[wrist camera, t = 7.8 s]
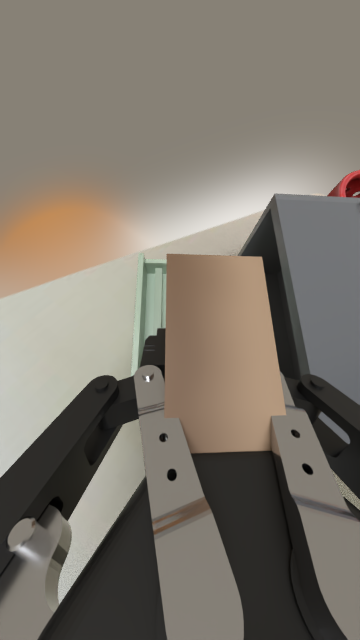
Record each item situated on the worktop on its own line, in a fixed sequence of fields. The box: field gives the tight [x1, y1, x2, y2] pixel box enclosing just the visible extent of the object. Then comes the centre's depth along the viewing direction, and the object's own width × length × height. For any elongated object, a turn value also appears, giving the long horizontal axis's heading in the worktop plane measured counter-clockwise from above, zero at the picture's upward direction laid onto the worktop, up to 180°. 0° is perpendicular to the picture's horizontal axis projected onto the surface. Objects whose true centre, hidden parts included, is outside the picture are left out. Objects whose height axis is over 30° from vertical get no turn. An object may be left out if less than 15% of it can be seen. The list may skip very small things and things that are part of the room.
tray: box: [131, 253, 167, 376], centre depth 25 cm, size 14×20×5 cm
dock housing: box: [238, 194, 360, 444], centre depth 22 cm, size 14×22×14 cm, turn 0°
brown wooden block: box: [164, 254, 286, 453], centre depth 11 cm, size 4×7×10 cm, turn 0°
